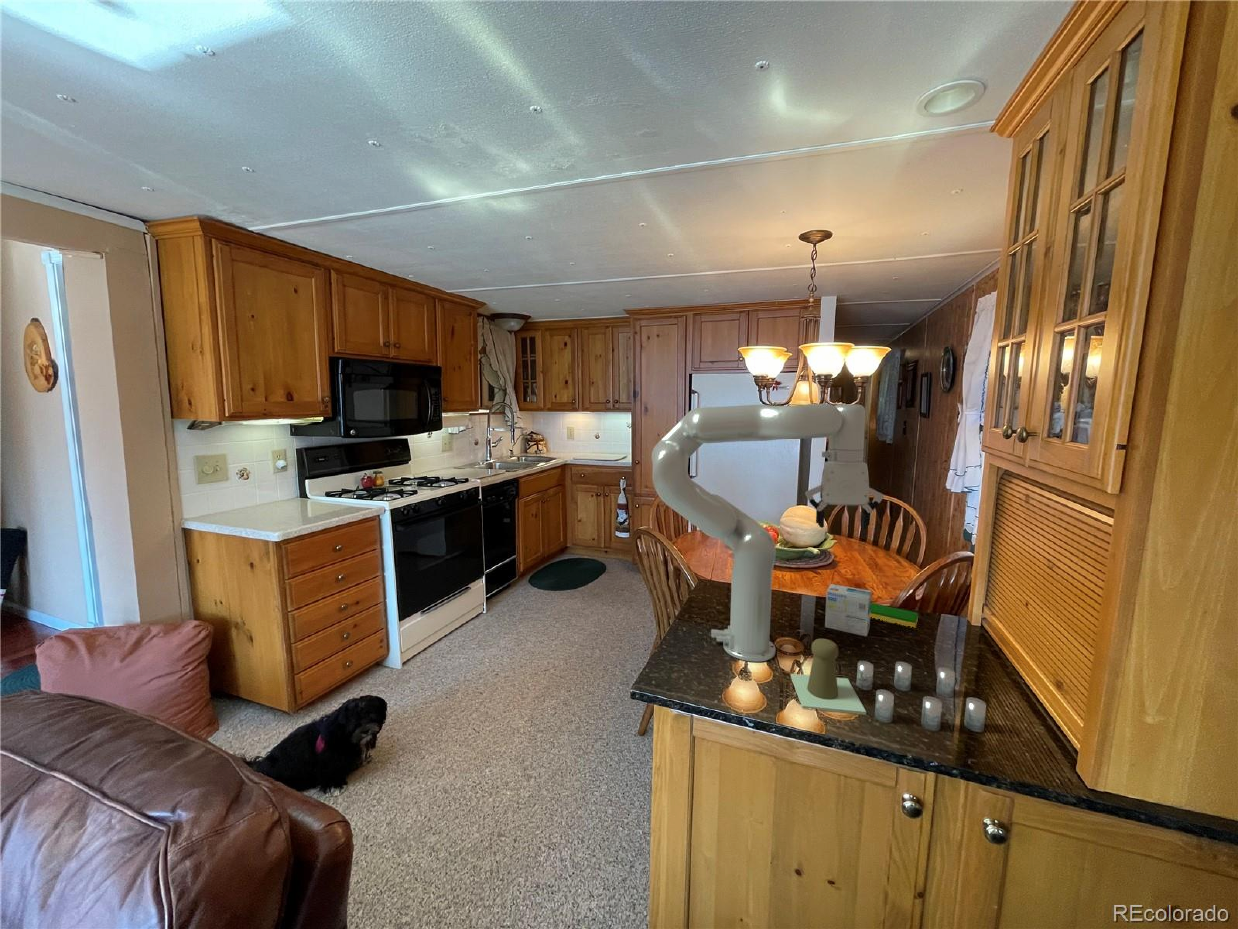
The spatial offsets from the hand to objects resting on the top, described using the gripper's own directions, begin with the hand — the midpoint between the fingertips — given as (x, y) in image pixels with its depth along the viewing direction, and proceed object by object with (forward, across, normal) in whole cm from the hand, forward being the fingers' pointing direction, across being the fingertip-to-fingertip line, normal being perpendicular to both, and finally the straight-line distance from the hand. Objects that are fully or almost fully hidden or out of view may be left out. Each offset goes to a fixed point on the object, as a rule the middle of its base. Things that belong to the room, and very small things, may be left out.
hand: (842, 527), depth 117 cm
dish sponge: (+32, +19, +24) cm, 45 cm away
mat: (+31, -6, -20) cm, 38 cm away
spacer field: (+32, +11, -20) cm, 39 cm away
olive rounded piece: (+31, -7, -20) cm, 38 cm away
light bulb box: (+32, +6, +14) cm, 35 cm away
